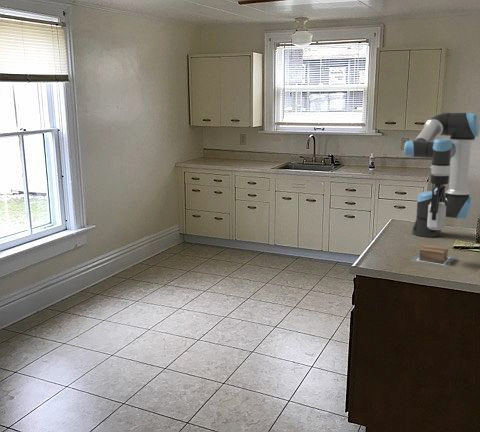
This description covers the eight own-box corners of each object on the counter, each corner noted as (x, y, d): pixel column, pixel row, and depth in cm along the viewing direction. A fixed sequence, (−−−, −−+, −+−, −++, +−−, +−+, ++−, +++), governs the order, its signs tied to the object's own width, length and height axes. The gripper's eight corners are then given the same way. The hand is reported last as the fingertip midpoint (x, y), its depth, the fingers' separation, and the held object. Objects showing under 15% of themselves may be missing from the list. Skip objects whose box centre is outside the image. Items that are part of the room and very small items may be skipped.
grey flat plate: (420, 253, 251) (420, 251, 251) (456, 258, 242) (456, 256, 242) (409, 263, 236) (409, 261, 236) (446, 269, 228) (447, 267, 227)
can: (445, 231, 231) (448, 204, 229) (428, 230, 233) (430, 203, 230) (442, 226, 238) (445, 201, 236) (425, 226, 240) (427, 200, 237)
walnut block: (425, 254, 246) (425, 244, 245) (447, 258, 240) (448, 247, 239) (419, 260, 238) (419, 249, 236) (442, 263, 232) (443, 253, 231)
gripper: (436, 171, 240) (433, 219, 245) (425, 176, 224) (421, 228, 229) (454, 172, 236) (449, 221, 241) (443, 178, 220) (439, 231, 225)
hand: (435, 225), depth 235 cm, fingers closed on can, 7 cm apart
